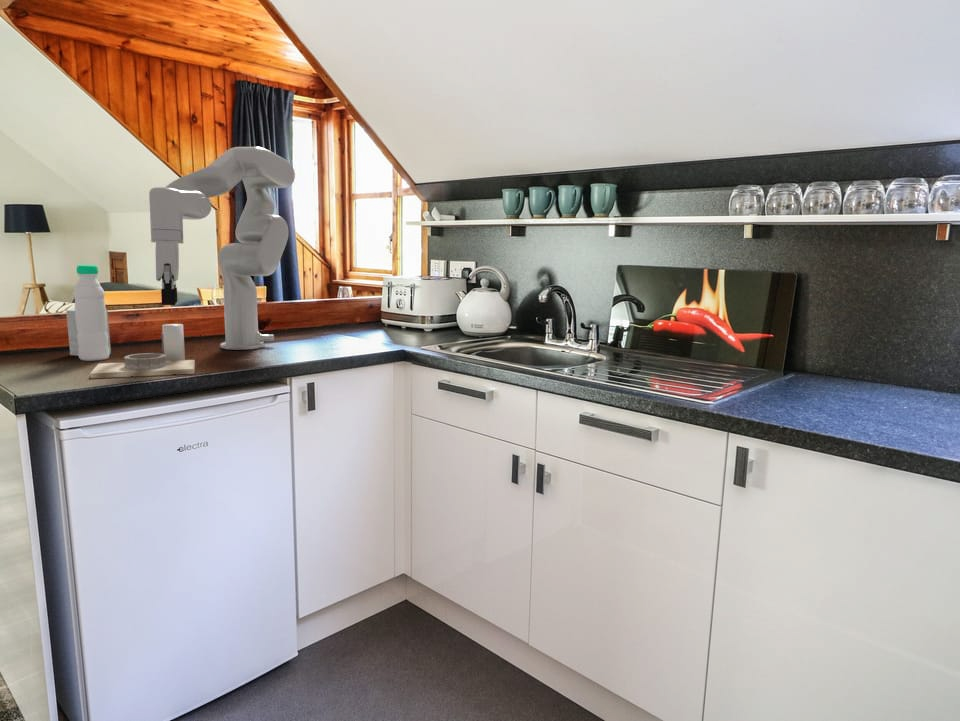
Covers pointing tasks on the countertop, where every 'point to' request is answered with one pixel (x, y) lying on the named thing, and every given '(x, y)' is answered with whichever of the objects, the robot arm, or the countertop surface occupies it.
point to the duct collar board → (143, 366)
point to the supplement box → (73, 332)
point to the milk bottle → (90, 315)
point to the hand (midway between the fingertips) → (169, 303)
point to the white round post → (173, 342)
